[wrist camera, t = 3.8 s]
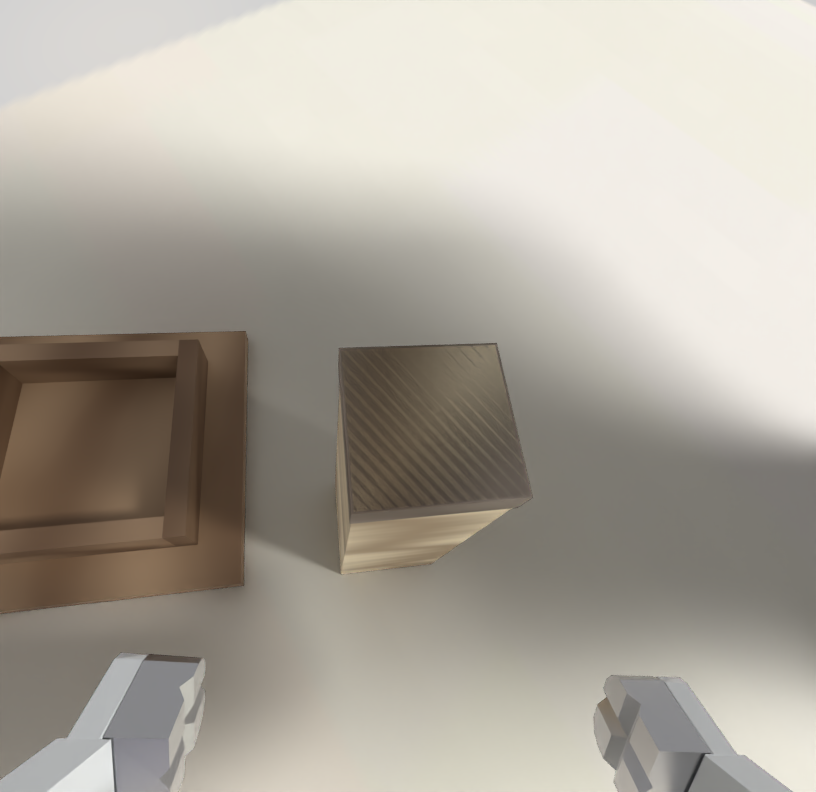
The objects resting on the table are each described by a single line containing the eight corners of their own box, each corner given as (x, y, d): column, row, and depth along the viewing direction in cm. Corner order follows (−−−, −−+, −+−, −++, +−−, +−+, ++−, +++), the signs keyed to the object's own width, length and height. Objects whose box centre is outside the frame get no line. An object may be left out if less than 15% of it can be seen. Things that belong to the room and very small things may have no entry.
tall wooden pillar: (420, 475, 23) (496, 342, 13) (432, 565, 22) (532, 497, 11) (333, 482, 23) (339, 347, 12) (339, 575, 21) (351, 514, 10)
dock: (247, 339, 25) (238, 307, 23) (243, 585, 20) (231, 578, 18) (-17, 346, 23) (-59, 311, 21) (-96, 624, 18) (-163, 623, 16)
